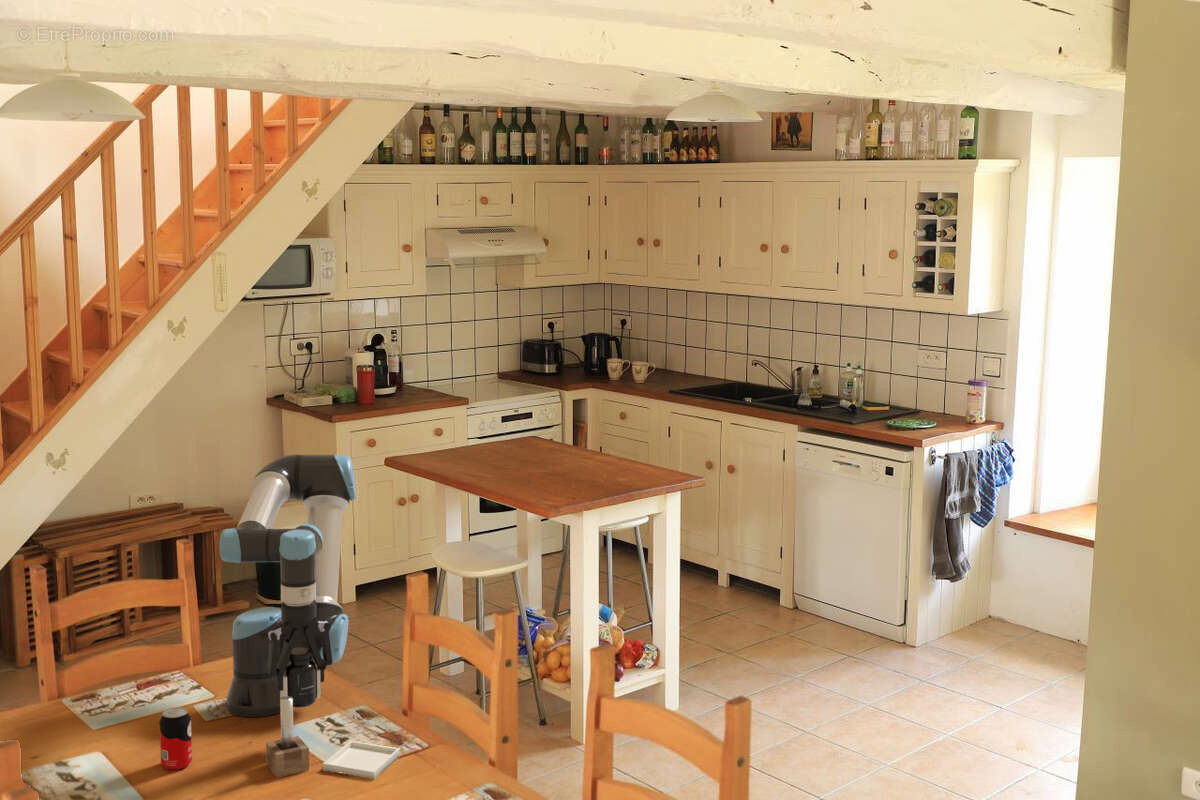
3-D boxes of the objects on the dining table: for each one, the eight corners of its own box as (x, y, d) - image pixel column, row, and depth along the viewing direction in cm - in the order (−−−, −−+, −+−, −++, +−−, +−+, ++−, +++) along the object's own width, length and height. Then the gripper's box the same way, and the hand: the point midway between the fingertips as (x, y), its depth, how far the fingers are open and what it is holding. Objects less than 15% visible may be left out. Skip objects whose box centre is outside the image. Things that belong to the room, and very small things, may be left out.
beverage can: (174, 774, 252) (172, 720, 250) (154, 766, 255) (152, 713, 253) (198, 763, 257) (197, 710, 255) (179, 756, 260) (177, 703, 258)
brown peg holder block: (266, 764, 257) (266, 742, 256) (298, 757, 261) (297, 735, 260) (276, 777, 251) (276, 755, 250) (309, 770, 255) (308, 747, 254)
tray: (322, 770, 255) (322, 763, 255) (350, 747, 266) (350, 740, 266) (374, 779, 251) (374, 772, 251) (400, 755, 263) (400, 748, 263)
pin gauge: (281, 763, 254) (280, 701, 252) (281, 758, 257) (280, 696, 255) (293, 763, 255) (292, 700, 253) (294, 757, 257) (292, 695, 255)
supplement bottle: (308, 710, 262) (307, 658, 260) (279, 706, 263) (278, 655, 261) (321, 697, 268) (320, 646, 266) (293, 694, 270) (292, 643, 268)
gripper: (259, 613, 253) (261, 715, 257) (347, 598, 264) (349, 696, 268) (248, 603, 260) (251, 702, 263) (335, 589, 270) (336, 684, 274)
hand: (300, 699), depth 266 cm, fingers closed on supplement bottle, 7 cm apart
